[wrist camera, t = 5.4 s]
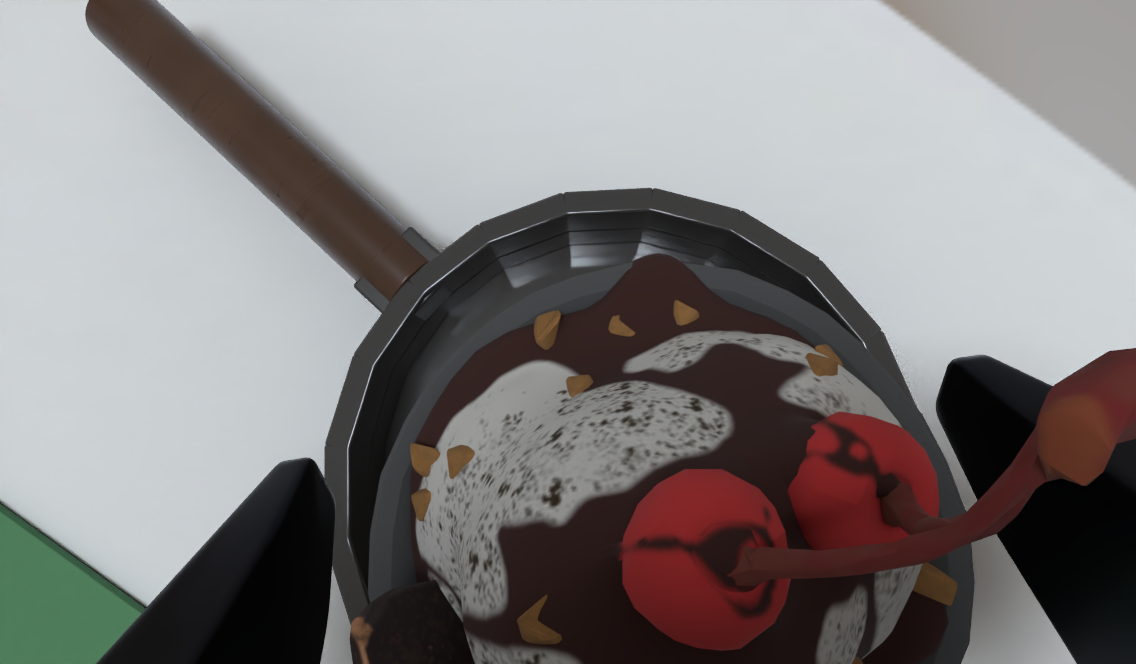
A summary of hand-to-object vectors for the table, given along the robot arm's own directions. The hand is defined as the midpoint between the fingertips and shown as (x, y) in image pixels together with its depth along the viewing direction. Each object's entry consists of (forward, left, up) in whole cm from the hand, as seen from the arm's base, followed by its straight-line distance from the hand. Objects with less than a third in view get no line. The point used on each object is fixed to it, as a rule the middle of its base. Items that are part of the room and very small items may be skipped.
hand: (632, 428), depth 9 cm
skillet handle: (+8, -7, -7) cm, 13 cm away
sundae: (0, +1, -9) cm, 9 cm away
